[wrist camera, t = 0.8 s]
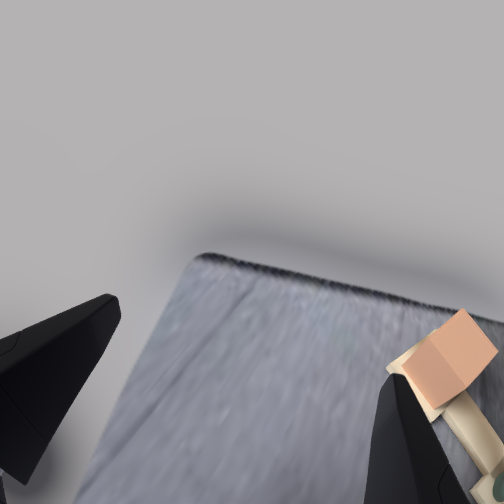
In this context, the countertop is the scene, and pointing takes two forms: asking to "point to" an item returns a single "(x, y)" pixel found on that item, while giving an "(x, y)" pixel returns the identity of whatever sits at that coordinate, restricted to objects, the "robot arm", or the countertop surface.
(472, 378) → the terracotta cube
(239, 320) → the countertop surface
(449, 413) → the pull strip
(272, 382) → the countertop surface
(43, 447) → the robot arm
